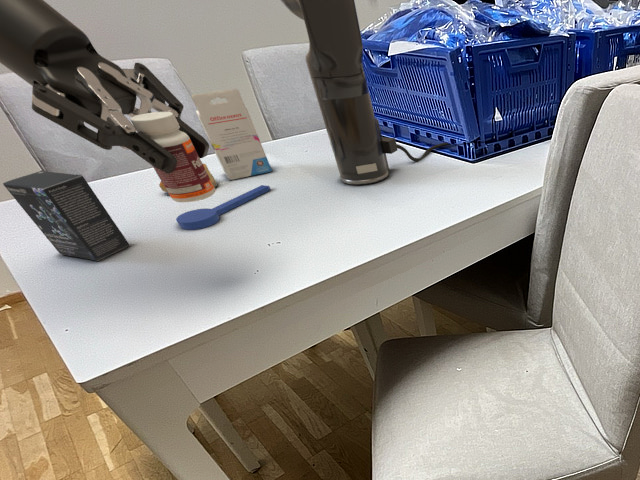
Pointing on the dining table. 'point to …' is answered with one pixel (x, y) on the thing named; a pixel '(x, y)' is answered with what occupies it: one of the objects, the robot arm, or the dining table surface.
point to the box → (68, 214)
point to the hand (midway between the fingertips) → (189, 158)
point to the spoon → (216, 210)
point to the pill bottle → (189, 171)
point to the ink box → (231, 134)
